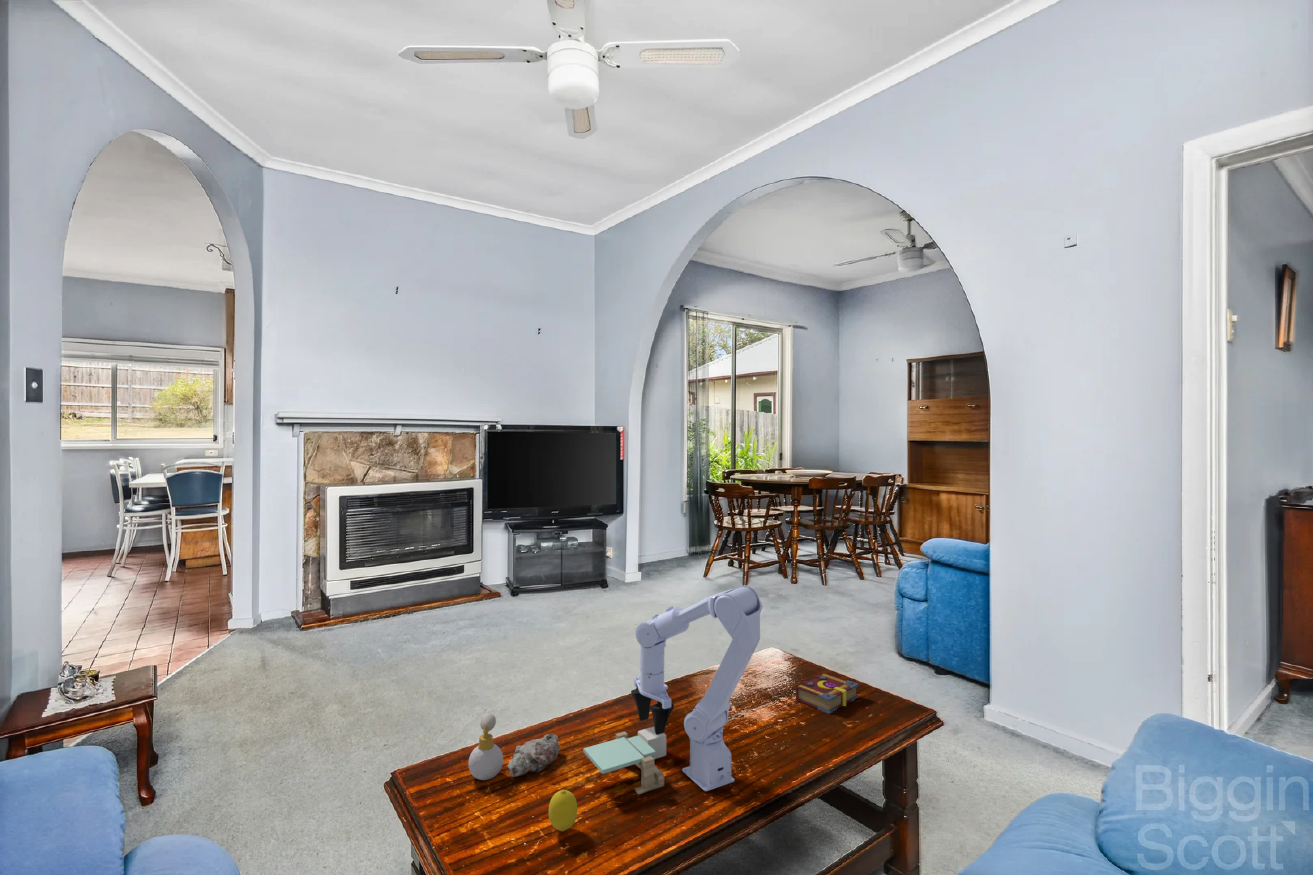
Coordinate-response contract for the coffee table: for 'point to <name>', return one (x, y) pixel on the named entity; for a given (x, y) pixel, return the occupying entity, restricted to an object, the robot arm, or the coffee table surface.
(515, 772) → the mineral rock
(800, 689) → the decorative book
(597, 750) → the trapdoor
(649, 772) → the frame
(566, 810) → the lemon
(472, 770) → the perfume bottle
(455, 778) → the coffee table surface
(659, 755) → the white cube
